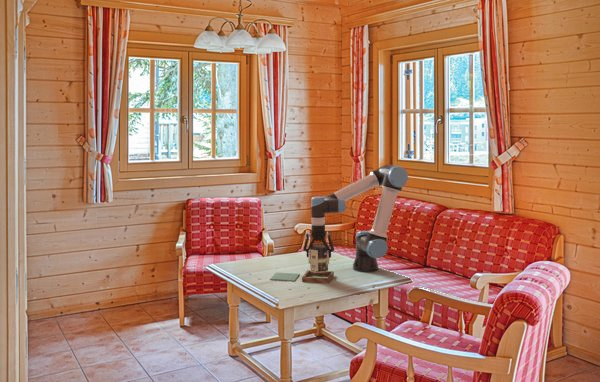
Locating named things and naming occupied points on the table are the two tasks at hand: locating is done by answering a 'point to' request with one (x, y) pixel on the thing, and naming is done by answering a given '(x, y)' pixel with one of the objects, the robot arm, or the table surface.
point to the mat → (284, 276)
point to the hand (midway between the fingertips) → (319, 263)
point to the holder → (317, 280)
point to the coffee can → (318, 258)
